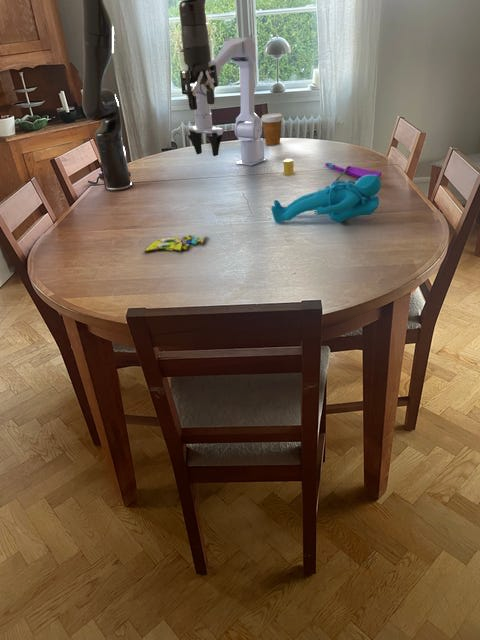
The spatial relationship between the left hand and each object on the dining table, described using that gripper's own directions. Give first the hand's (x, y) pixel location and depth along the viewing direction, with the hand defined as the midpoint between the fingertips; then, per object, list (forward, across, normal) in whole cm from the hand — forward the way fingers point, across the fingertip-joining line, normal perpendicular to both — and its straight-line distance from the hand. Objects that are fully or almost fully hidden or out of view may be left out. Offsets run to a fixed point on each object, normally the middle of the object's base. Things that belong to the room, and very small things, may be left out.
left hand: (202, 106), depth 142 cm
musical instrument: (+29, -38, +30) cm, 57 cm away
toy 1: (+29, +32, +12) cm, 45 cm away
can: (+29, -36, +9) cm, 47 cm away
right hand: (+20, -18, -14) cm, 30 cm away
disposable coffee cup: (+29, -74, -20) cm, 82 cm away
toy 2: (+29, +1, +41) cm, 50 cm away
